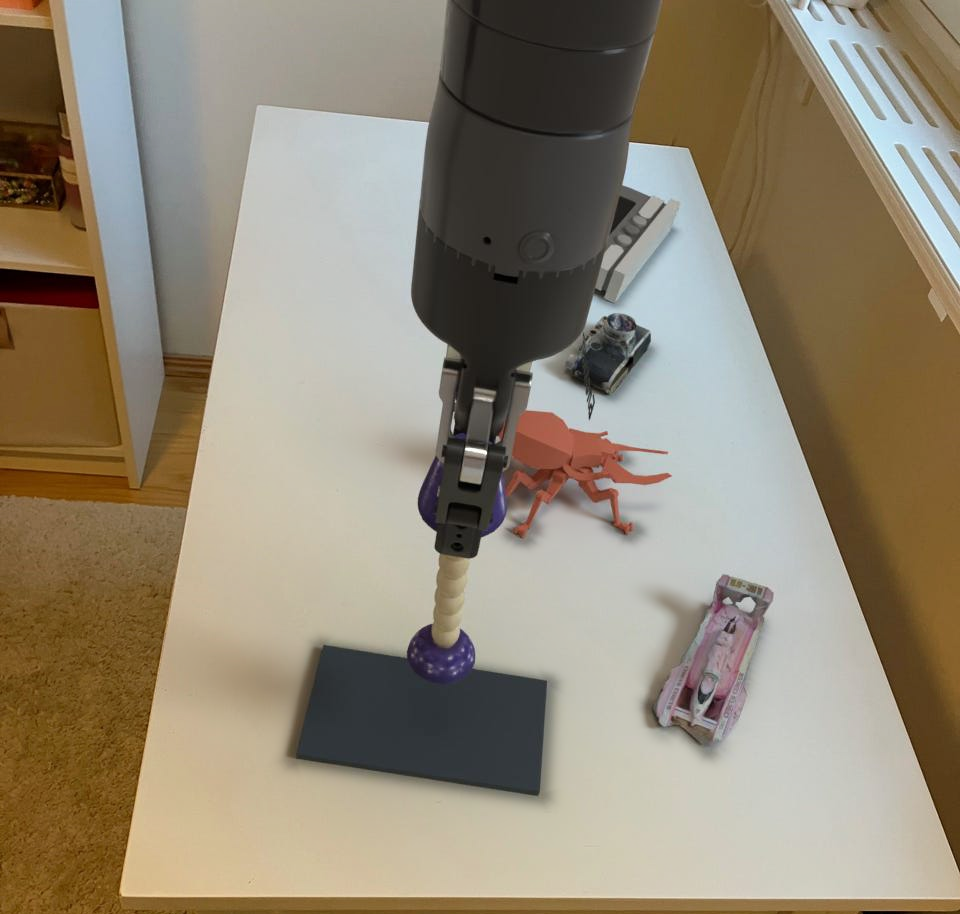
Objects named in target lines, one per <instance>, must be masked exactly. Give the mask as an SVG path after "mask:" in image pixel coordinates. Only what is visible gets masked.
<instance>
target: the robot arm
mask: <svg viewBox="0 0 960 914" xmlns="http://www.w3.org/2000/svg"><path fill="white" fill-rule="evenodd" d="M662 3H663V0H446V6H445V16H444V24H443V35H442V43H441V53H440V64H439V68H440V69H439V73H438V81H437V86H436V90H435V96H434V100H433V104H432V108H431V112H430V117H429V120H428V125H427V131H426V138H425V145H424V154H423V163H422V164H423V165H422V173H421V175H422V176H421V184H420V185H421V186H420V194H419V195H420V196H419V204H418V212H417V213H418V215H417V223H416V224H417V225H416V235H415V245H414V256H413V266H412V275H411V284H410V285H411V286H410V296H411V303H412V307H413V310H414V312H415V314H416V316H417V317H418V319H419V321H420V322H421V323H422V325H423V326H424V327H425V328H426V329H427V330H428V331H429V332H430V333H431V334H432V335H433V336H434V337H436V339H438V340H439V341H441V342H442V343H445V344H446V354H445V356H444V357H443V362H442V368H441V375H440V381H439V388H438V396H439V397H438V398H439V399H440V401H441V403H442V407H441V415H440V420H439V426H438V434H437V441H436V447H435V456H437V458H438V459H439V460H440V461H441V462H442V463H443V464H444V465H443V472H442V479H441V486H438V491H437V497H439V500H438V504H437V503H435V506H434V513H433V514H436V521H435V522H437V523H438V527H437V532H436V534H435V540H434V545H433V547H434V550H435V552H437V553H438V554H439V555H440V554H444V555H450V556H456V557H461V558H468V559H470V560H471V559H474V558H476V557H477V556H478V554H479V549H480V545H481V540H482V537H481V535H482V531H483V530H484V531H488V528H489V524H492V522H493V517H494V513H492V511H493V507H494V503H495V499H496V495H497V491H498V487H499V483H500V479H501V475H502V473H503V472H505V471H507V470H508V469H509V467H510V465H511V460H512V457H513V456H512V451H513V446H514V440H515V435H516V430H517V425H518V420H519V417H520V415H522V414H523V413H524V412H525V411H526V410H527V408H528V403H529V399H530V394H531V390H532V389H531V388H532V383H533V376H534V375H533V372H531V368H532V365H533V362H536V361H539V360H544V359H548V358H551V357H554V356H556V355H558V354H560V353H562V352H564V351H566V350H567V349H568V348H569V347H571V346H572V345H573V344H574V343H576V341H577V340H578V339H579V337H580V336H581V334H583V332H584V330H585V327H586V324H587V322H588V321H587V320H588V317H589V313H590V310H591V306H592V302H593V299H594V294H595V292H596V291H595V290H596V288H595V287H596V283H597V280H598V276H599V272H600V268H601V264H602V261H603V257H604V253H605V249H606V245H607V242H608V237H609V234H610V230H611V226H612V222H613V218H614V215H615V211H616V207H617V203H618V199H619V196H620V192H621V188H622V185H624V184H623V183H624V179H625V175H626V171H627V164H628V158H629V148H630V141H631V140H630V139H631V132H632V125H633V120H634V116H635V110H636V106H637V102H638V99H639V96H640V91H641V88H642V83H643V80H644V76H645V72H646V67H647V64H648V61H649V56H650V52H651V48H652V44H653V40H654V37H655V33H656V30H657V25H658V22H659V17H660V13H661V8H662ZM505 419H506V421H505ZM453 420H454V425H453V431H452V424H453ZM504 422H505V427H504V432H503V437H502V439H500V440H499V441H498V442H496V441H497V438H499V436H498V435H499V433H500V432H501V430H502V428H503V425H504ZM457 434H466V435H467V437H466V440H464V439H459V438H457V437H455V436H454V435H457ZM489 441H490V442H491V443H492V444H488V442H489Z"/></svg>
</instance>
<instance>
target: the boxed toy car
mask: <svg viewBox="0 0 960 914" xmlns="http://www.w3.org/2000/svg"><path fill="white" fill-rule="evenodd" d="M713 591H714V592H713V596H712V601H711V603H710V605H709V607H708V608H707V610H706V614H705V615H704V620H703V621H702V623H700V625H699V629H698V632H697V633H696V635H695V637H694V638H693V640H692V643H691V644H690V645H689V648H688V649H687V651H686V652H685V653H684V655H683V656H682V658H681V661H682V662H681V663H680V664H679V665H678V666H675V667H672V668H671V669H670V671H669V676H668V679H667V680H665V682H663V683H662V686H661V688H660V689H661V690H662V692H661V693H660V694H659V695H658V697H657V698H656V699H655V700H654V703H653V706H652V707H653V708H652V709H653V711H654V714H655V715H656V717H657V718H658V722H659V724H660V726H662V727H663V728H667V727H671V726H675V725H678V726H680V727H681V728H682V729H684V730H685V731H686V732H687V733H688V734H690V735H691V736H692V737H693V738H694V739H695V740H696V741H697V742H698V743H700V744H701V745H702V746H703V747H705V746H706V745H711V744H713V743H715V742H719V741H720V742H721V740H722V739H723V738H724V737H725V736H726V735H727V734H729V732H730V731H731V730H732V728H733V727H734V725H735V724H736V723H737V721H738V720H739V719H740V716H741V714H742V711H743V709H744V706H745V703H746V700H747V697H748V694H747V692H746V691H747V690H746V688H745V682H746V678H747V674H748V669H749V667H750V663H751V658H752V656H753V653H754V651H755V648H756V646H757V643H758V640H759V637H760V634H761V632H762V630H763V626H764V623H765V616H764V615H765V614H766V613H767V611H768V609H769V608H770V606H771V605H772V603H773V601H774V592H773V591H772V589H770V588H769V587H768V586H764V585H762V584H759V583H756V582H751V581H748V580H745V579H742V578H738V577H734V576H730V575H729V574H722V575H721V576H720V577H719V579H717V581H716V584H715V588H714V590H713ZM728 598H729V601H731V603H727V604H726V603H724V602H723V601H725V600H726V599H728ZM745 598H746V599H747V598H750V599H751V600H752V601H753V602H754V603H755V604H754V608H753V610H752V611H750V612H749V611H746V610H742V609H740V608H739V606H738V605H737V603H742V601H744V599H745Z"/></svg>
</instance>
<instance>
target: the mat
mask: <svg viewBox="0 0 960 914" xmlns="http://www.w3.org/2000/svg"><path fill="white" fill-rule="evenodd" d="M319 656H320V657H319V661H318V665H317V668H316V673H315V677H314V681H313V685H312V689H311V693H310V697H309V701H308V705H307V709H306V714H305V718H304V722H303V726H302V730H301V734H300V738H299V743H298V746H297V750H296V759H297V760H304V761H311V762H317V763H322V764H329V765H336V766H344V767H350V768H355V769H362V770H369V771H375V772H381V773H382V772H383V773H388V774H395V775H400V776H401V775H402V776H407V777H414V778H420V779H428V780H433V781H440V782H447V783H452V784H458V785H466V786H472V787H479V788H485V789H491V790H497V791H505V792H509V793H510V792H512V793H516V794H517V793H518V794H525V795H531V796H537V797H538V796H539V795H540V793H541V781H542V766H543V752H544V736H545V735H544V734H545V720H546V708H547V707H546V706H547V705H546V704H547V691H548V680H545V679H539V678H532V677H528V676H521V675H515V674H508V673H501V672H497V671H490V670H483V669H477V668H472V670H471V671H470V673H469V674H468V675H467V676H466V677H464V678H463V679H461V680H459V681H457V682H454V683H450V684H436V683H431V682H429V681H426V680H425V679H422V678H421V677H420V676H418V675H417V674H416V673H415V672H414V671H413V669H412V668H411V667H410V665H409V662H408V660H407V657H402V656H395V655H390V654H384V653H383V654H382V653H377V652H371V651H365V650H358V649H353V648H352V649H351V648H348V647H347V648H345V647H339V646H334V645H327V644H323V645H322V648H321V652H320V655H319Z"/></svg>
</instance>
